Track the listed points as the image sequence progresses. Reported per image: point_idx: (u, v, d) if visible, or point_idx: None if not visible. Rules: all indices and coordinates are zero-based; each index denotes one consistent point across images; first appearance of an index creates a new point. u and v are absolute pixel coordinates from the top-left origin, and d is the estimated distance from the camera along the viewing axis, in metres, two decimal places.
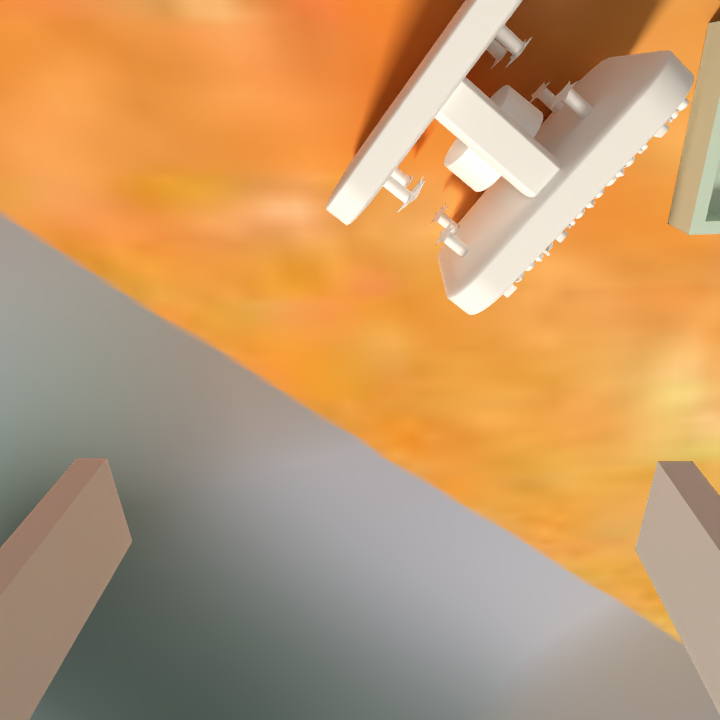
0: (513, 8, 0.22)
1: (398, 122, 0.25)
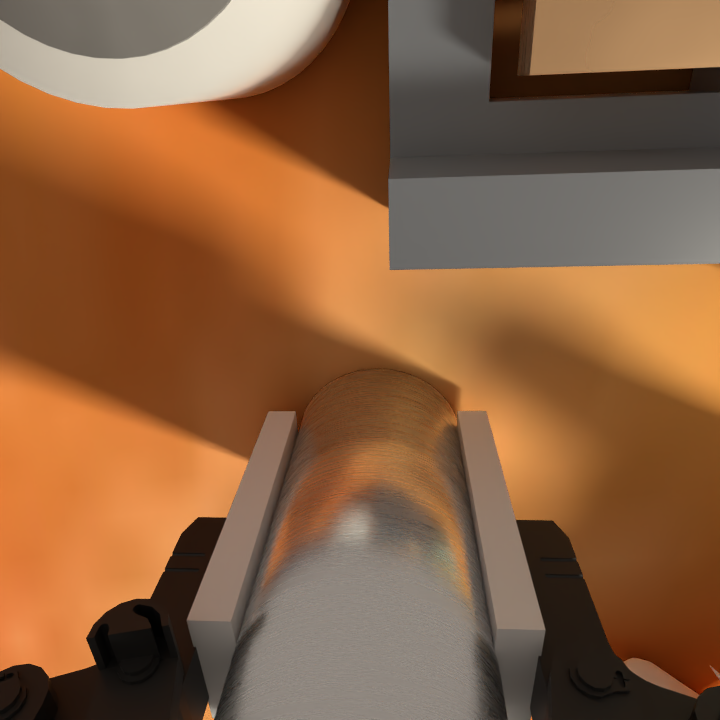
0: None
1: None
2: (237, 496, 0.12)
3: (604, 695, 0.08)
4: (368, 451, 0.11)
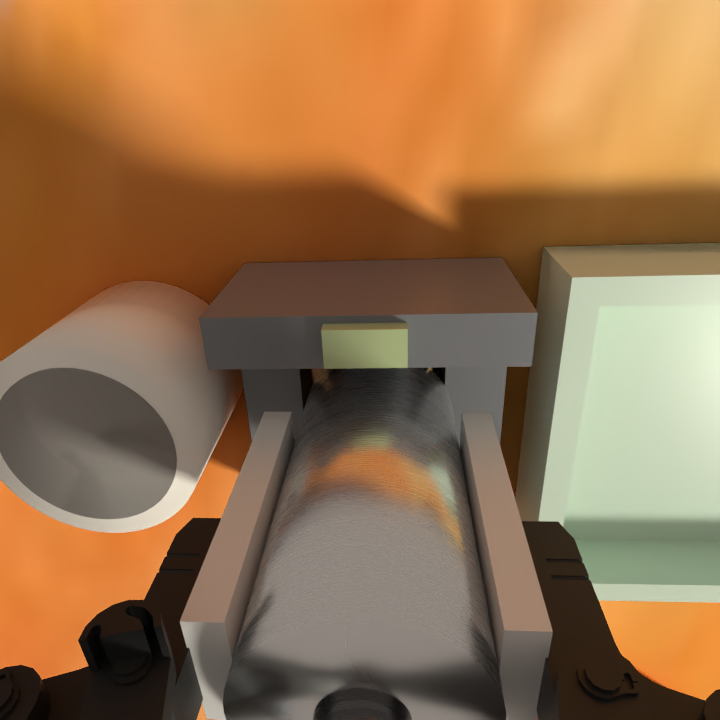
0: None
1: None
2: (231, 496, 0.12)
3: (612, 697, 0.08)
4: (370, 417, 0.13)
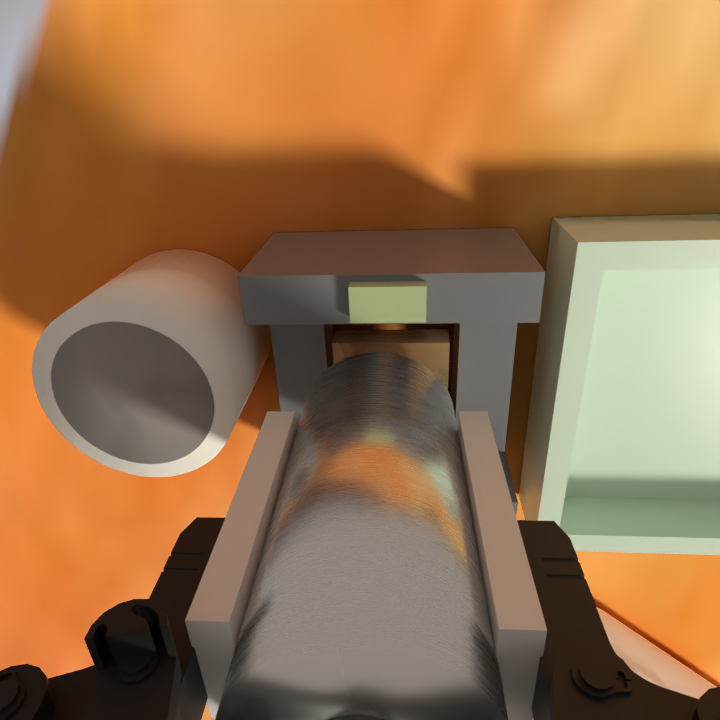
0: None
1: None
2: (235, 496, 0.12)
3: (606, 696, 0.08)
4: (368, 425, 0.12)
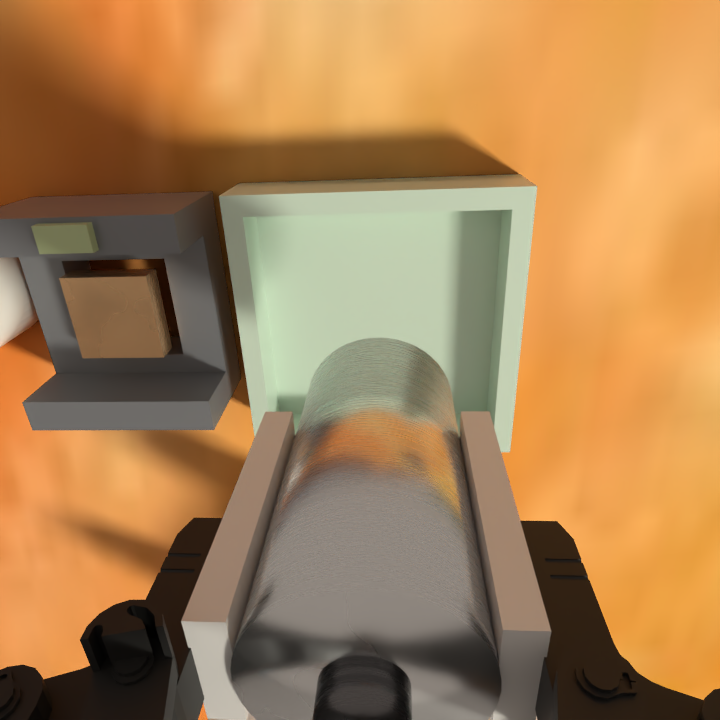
0: None
1: None
2: (232, 496, 0.12)
3: (610, 697, 0.08)
4: (370, 402, 0.13)
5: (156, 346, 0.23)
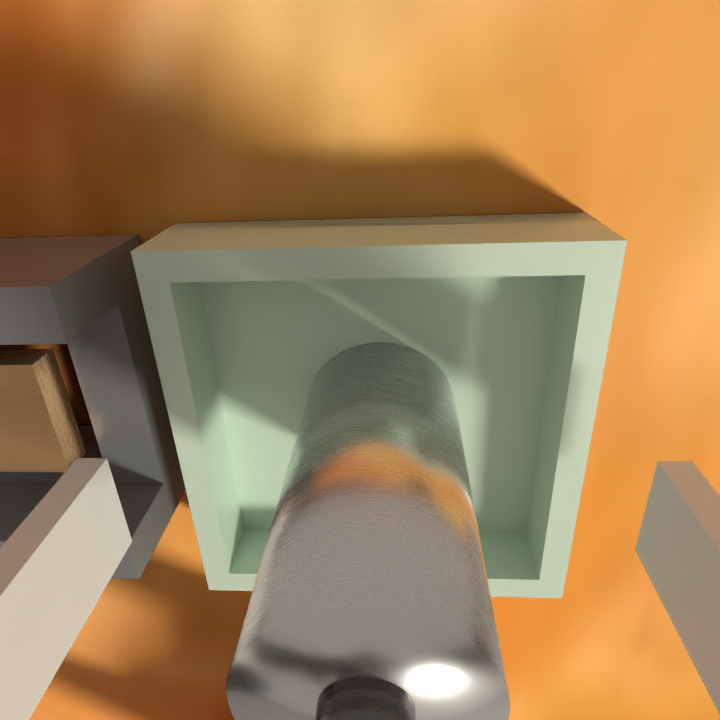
0: None
1: None
2: None
3: None
4: (372, 409, 0.13)
5: (57, 458, 0.16)
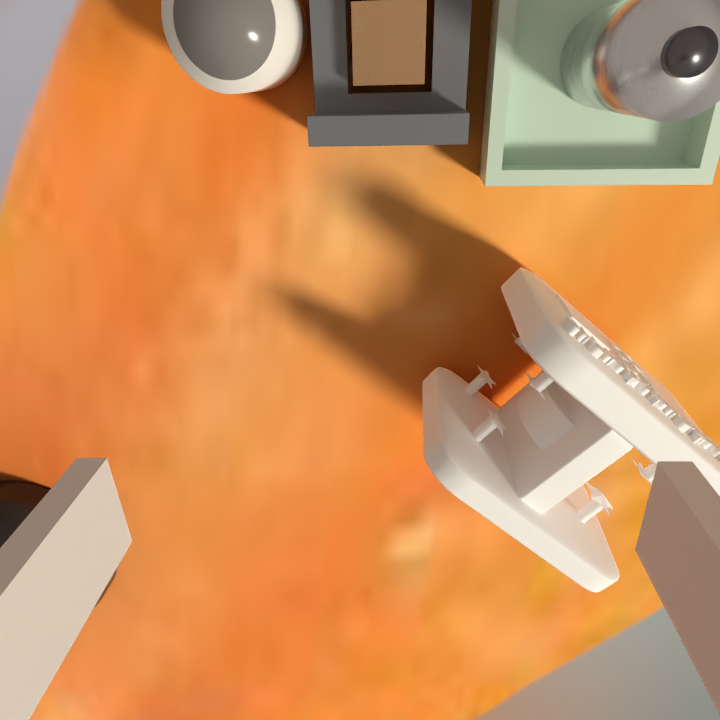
0: (476, 481, 0.28)
1: (545, 554, 0.30)
2: None
3: None
4: None
5: (420, 72, 0.27)
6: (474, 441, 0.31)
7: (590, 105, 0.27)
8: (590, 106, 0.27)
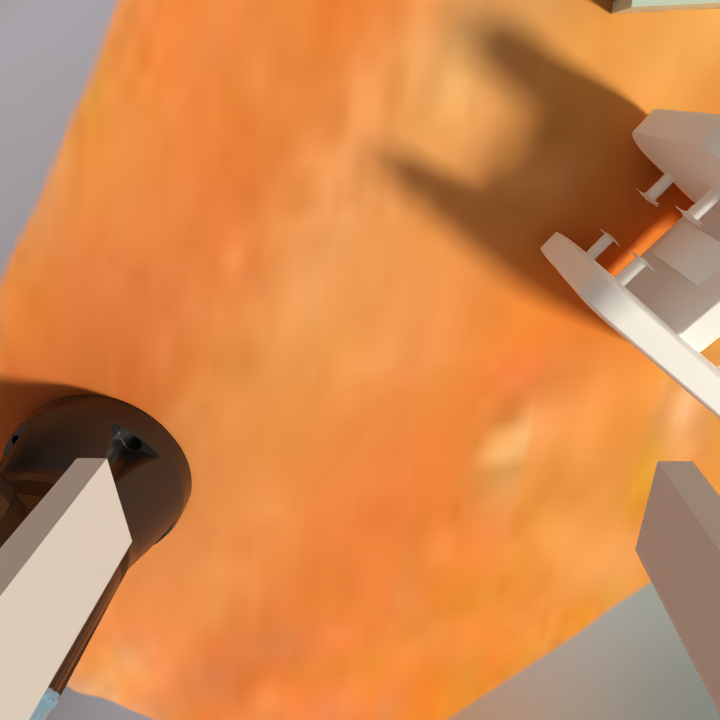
0: (641, 308, 0.27)
1: (706, 394, 0.28)
2: None
3: None
4: None
5: None
6: (621, 283, 0.30)
7: None
8: None
